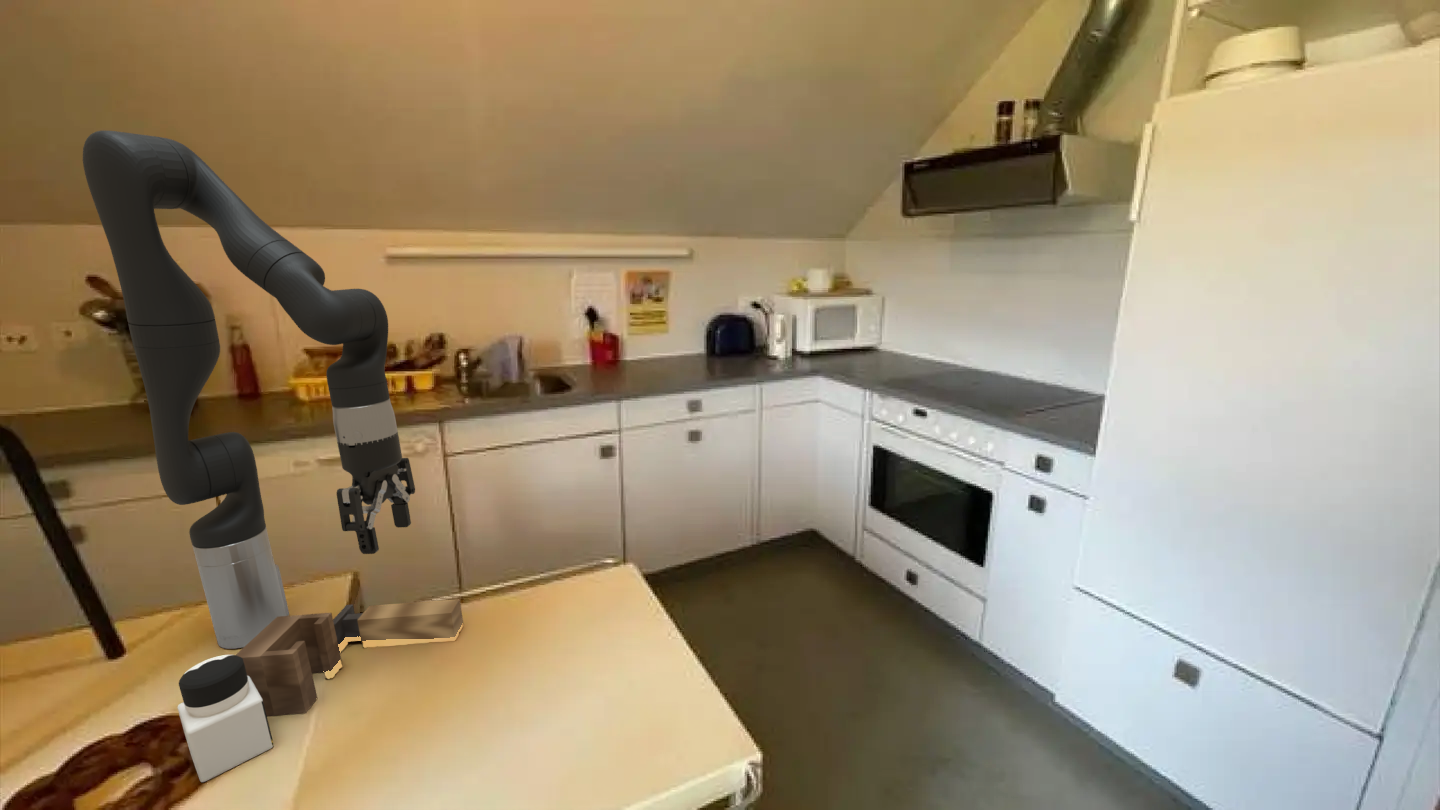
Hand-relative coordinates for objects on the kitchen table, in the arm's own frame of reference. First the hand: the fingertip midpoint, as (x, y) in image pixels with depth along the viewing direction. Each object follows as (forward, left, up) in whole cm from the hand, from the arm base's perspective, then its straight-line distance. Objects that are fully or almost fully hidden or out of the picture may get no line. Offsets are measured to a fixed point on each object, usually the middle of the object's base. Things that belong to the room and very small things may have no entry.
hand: (387, 539), depth 90 cm
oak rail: (-3, -2, -19) cm, 19 cm away
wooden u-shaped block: (+8, -12, -18) cm, 23 cm away
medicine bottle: (+18, -14, -19) cm, 29 cm away
